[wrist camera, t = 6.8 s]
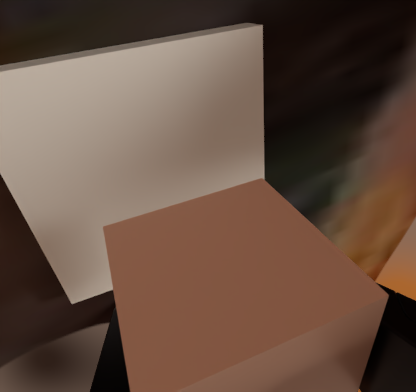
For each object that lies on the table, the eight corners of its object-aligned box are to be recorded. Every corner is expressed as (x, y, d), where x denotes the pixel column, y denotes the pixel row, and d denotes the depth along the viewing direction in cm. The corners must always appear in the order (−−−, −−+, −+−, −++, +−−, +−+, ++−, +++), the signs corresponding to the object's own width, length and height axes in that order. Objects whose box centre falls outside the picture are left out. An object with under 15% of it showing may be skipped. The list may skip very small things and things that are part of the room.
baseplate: (246, 22, 15) (262, 24, 14) (253, 222, 22) (264, 235, 20) (-40, 72, 12) (-51, 80, 11) (71, 284, 19) (71, 304, 18)
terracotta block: (262, 177, 10) (389, 295, 6) (263, 283, 13) (351, 410, 9) (102, 226, 9) (133, 410, 5) (142, 331, 12) (182, 502, 8)
